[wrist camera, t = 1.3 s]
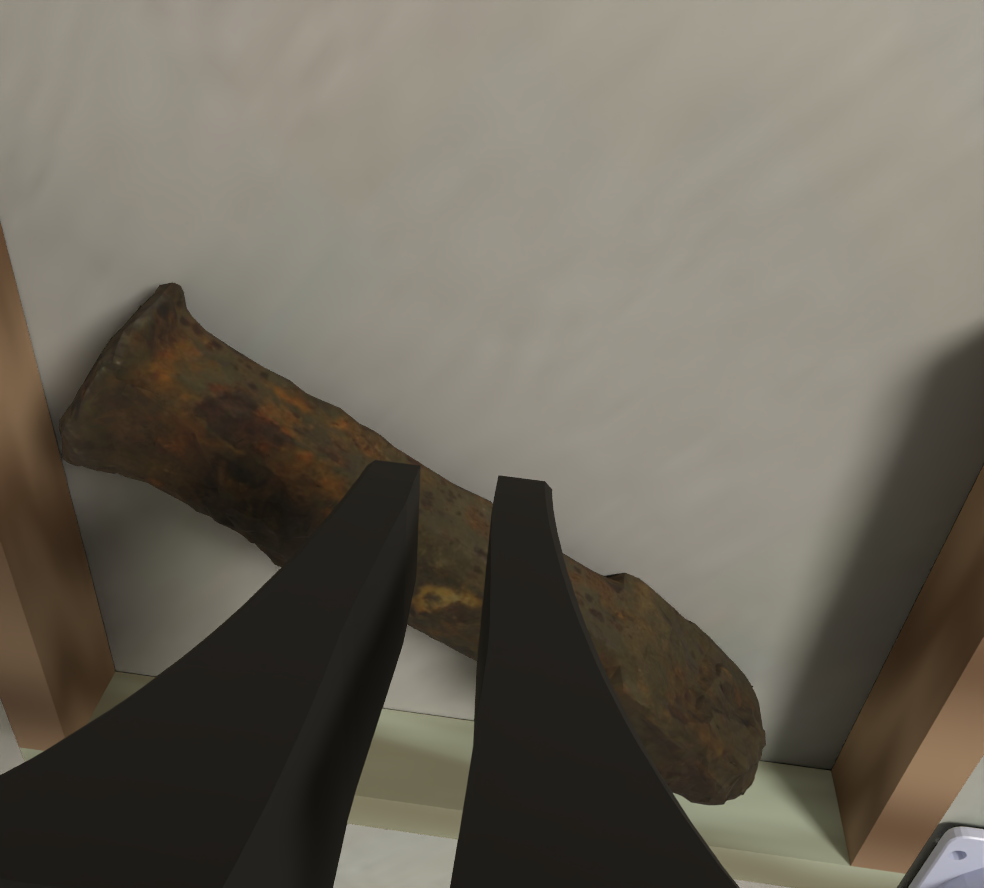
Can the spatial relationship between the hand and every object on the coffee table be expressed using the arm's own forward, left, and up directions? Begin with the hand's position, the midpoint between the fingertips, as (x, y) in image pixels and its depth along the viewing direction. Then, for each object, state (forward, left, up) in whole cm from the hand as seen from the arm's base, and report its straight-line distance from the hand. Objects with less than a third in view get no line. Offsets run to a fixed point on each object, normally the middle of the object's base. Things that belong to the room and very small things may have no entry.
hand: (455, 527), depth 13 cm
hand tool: (-7, 0, -9) cm, 11 cm away
